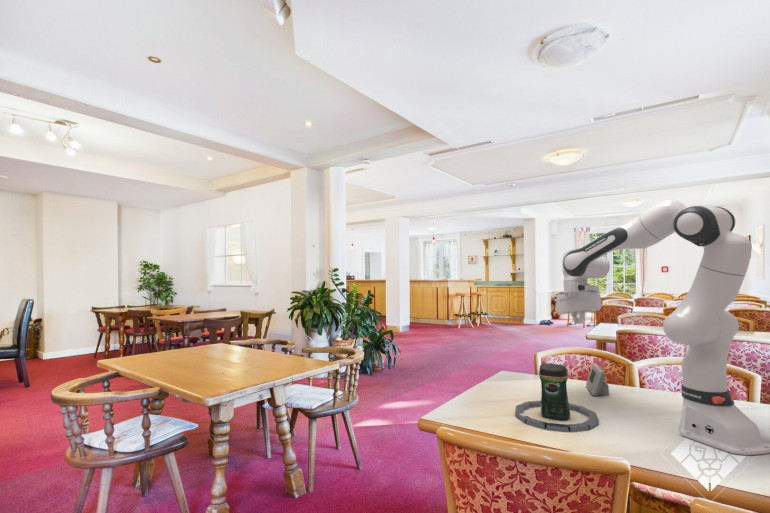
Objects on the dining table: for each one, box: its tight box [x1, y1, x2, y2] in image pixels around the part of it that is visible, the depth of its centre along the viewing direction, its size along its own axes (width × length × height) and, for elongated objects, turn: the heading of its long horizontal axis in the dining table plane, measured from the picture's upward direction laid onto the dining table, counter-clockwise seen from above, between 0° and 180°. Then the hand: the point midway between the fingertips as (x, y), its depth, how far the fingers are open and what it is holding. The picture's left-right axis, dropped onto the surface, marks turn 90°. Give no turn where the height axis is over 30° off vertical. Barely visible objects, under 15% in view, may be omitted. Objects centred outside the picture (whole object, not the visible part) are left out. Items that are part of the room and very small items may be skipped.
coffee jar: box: [538, 362, 571, 421], centre depth 144 cm, size 10×8×19 cm
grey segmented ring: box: [514, 399, 600, 433], centre depth 143 cm, size 27×27×2 cm
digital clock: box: [585, 363, 610, 397], centre depth 171 cm, size 16×9×11 cm, turn 150°
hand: (578, 323), depth 159 cm, fingers closed
